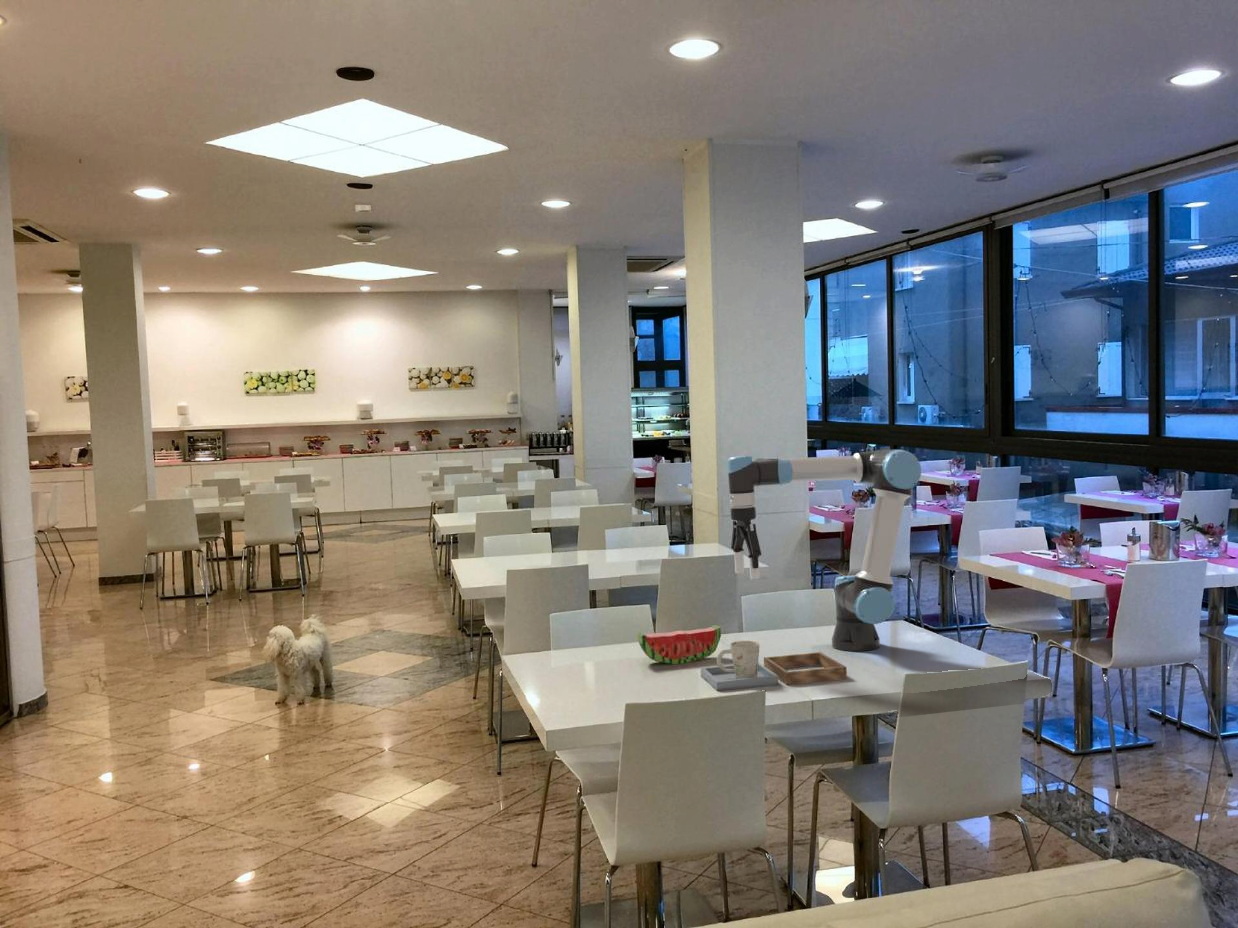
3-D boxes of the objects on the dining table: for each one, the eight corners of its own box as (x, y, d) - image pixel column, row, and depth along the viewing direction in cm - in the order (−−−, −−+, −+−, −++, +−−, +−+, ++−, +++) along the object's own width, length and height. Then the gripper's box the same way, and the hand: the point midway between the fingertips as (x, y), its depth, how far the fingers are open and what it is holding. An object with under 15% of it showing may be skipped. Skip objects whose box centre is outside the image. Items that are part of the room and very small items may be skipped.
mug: (760, 681, 281) (758, 647, 281) (715, 681, 284) (714, 647, 283) (761, 674, 289) (760, 640, 289) (718, 674, 292) (717, 640, 291)
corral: (820, 663, 301) (820, 651, 301) (846, 678, 282) (846, 666, 282) (764, 668, 298) (763, 657, 298) (786, 685, 279) (786, 672, 278)
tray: (759, 670, 296) (758, 662, 296) (778, 684, 279) (778, 675, 279) (700, 676, 293) (700, 667, 293) (716, 690, 276) (716, 681, 276)
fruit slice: (643, 667, 307) (641, 635, 306) (638, 663, 313) (636, 631, 312) (723, 659, 313) (721, 627, 312) (716, 654, 319) (715, 624, 318)
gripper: (718, 505, 313) (722, 571, 314) (745, 510, 289) (749, 582, 290) (740, 503, 315) (745, 569, 316) (769, 508, 290) (773, 580, 291)
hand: (747, 575), depth 303 cm, fingers open, 13 cm apart
